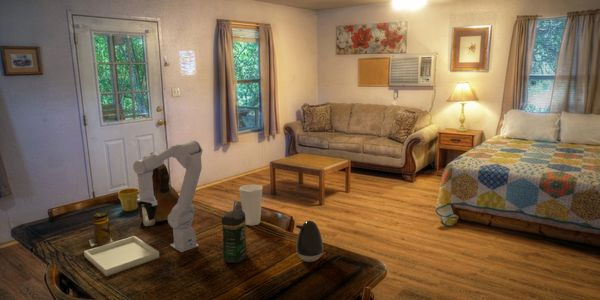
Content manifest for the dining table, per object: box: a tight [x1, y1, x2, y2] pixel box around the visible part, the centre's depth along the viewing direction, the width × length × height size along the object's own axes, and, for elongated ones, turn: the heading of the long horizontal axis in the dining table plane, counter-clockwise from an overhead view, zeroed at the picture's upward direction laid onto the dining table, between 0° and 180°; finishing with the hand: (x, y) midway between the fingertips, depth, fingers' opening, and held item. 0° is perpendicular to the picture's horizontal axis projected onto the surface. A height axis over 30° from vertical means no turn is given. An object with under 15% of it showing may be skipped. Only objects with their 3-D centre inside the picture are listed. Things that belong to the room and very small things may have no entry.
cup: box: [238, 183, 264, 226], centre depth 193 cm, size 11×10×17 cm
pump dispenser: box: [295, 220, 324, 263], centre depth 156 cm, size 10×10×15 cm
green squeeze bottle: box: [221, 209, 248, 264], centre depth 158 cm, size 10×8×19 cm
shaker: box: [141, 202, 156, 227], centre depth 177 cm, size 5×5×9 cm
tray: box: [83, 235, 160, 277], centre depth 162 cm, size 22×20×2 cm
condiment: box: [88, 212, 114, 247], centre depth 176 cm, size 7×8×12 cm
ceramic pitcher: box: [137, 163, 180, 223], centre depth 198 cm, size 20×20×30 cm
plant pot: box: [117, 187, 139, 212], centre depth 216 cm, size 10×10×10 cm
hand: (148, 218), depth 177 cm, fingers closed on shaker, 5 cm apart
